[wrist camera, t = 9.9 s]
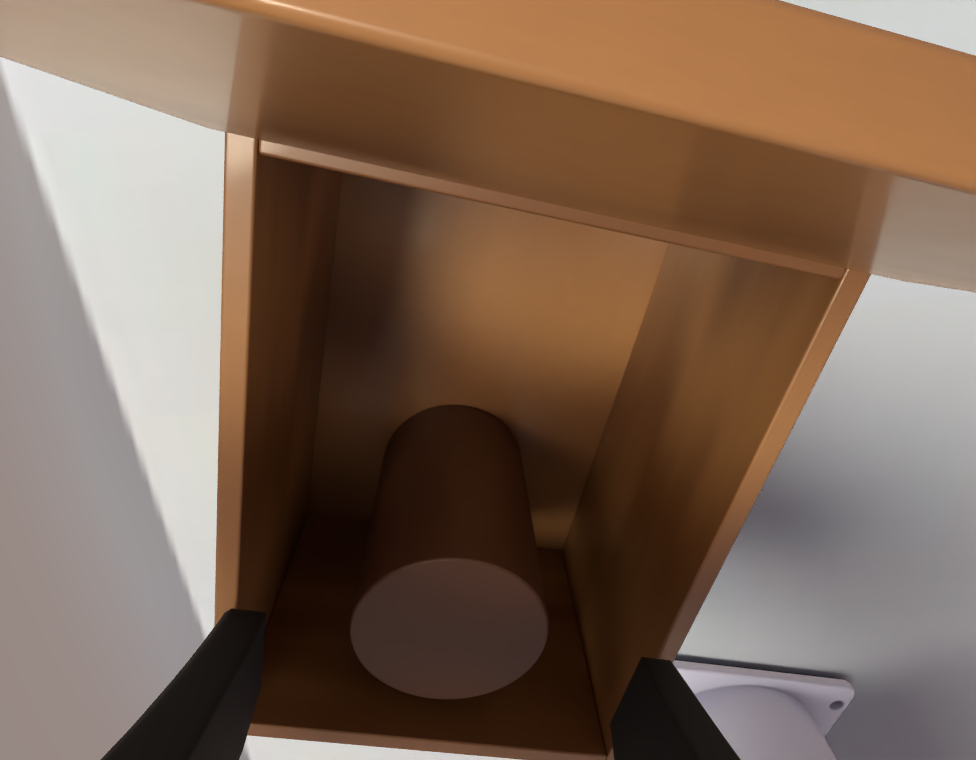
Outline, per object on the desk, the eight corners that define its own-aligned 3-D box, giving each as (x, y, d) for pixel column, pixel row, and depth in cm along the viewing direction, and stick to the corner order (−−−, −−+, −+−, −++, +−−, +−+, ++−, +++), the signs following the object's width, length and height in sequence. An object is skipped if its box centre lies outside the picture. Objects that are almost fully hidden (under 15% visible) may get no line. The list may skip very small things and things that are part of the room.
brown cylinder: (504, 526, 18) (523, 709, 13) (375, 508, 18) (338, 691, 12) (536, 417, 17) (573, 574, 11) (394, 392, 16) (362, 545, 11)
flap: (206, 128, 6) (209, 98, 6) (904, 281, 8) (913, 258, 8) (-1119, -323, 1) (-1225, -580, 1) (2119, 474, 2) (2200, 397, 2)
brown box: (334, 102, 13) (223, 112, 7) (698, 186, 14) (881, 258, 8) (295, 514, 18) (211, 733, 12) (568, 552, 19) (619, 769, 13)
